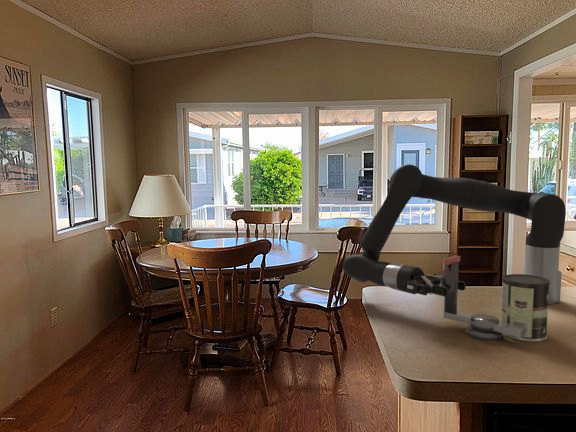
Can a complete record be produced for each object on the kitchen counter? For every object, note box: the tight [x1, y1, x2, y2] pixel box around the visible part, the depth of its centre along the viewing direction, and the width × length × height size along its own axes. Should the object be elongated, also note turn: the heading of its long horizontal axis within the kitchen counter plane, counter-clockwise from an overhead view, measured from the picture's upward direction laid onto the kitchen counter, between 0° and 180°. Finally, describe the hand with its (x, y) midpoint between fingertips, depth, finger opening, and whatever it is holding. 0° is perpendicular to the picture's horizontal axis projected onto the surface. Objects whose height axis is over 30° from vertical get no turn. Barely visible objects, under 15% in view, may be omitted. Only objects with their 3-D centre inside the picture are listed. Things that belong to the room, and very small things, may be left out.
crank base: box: [466, 324, 503, 342], centre depth 110 cm, size 8×8×2 cm
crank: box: [443, 254, 526, 338], centre depth 109 cm, size 20×6×16 cm, turn 42°
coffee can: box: [500, 273, 550, 343], centre depth 109 cm, size 10×10×14 cm
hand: (456, 289), depth 114 cm, fingers open, 8 cm apart
